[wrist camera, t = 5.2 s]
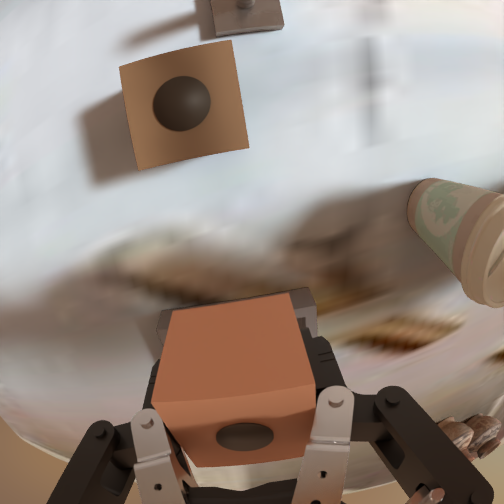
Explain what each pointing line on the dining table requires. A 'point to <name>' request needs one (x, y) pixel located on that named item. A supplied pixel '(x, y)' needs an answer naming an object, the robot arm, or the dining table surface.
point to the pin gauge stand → (246, 16)
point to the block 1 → (184, 104)
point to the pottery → (473, 434)
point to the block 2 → (236, 383)
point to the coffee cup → (463, 234)
